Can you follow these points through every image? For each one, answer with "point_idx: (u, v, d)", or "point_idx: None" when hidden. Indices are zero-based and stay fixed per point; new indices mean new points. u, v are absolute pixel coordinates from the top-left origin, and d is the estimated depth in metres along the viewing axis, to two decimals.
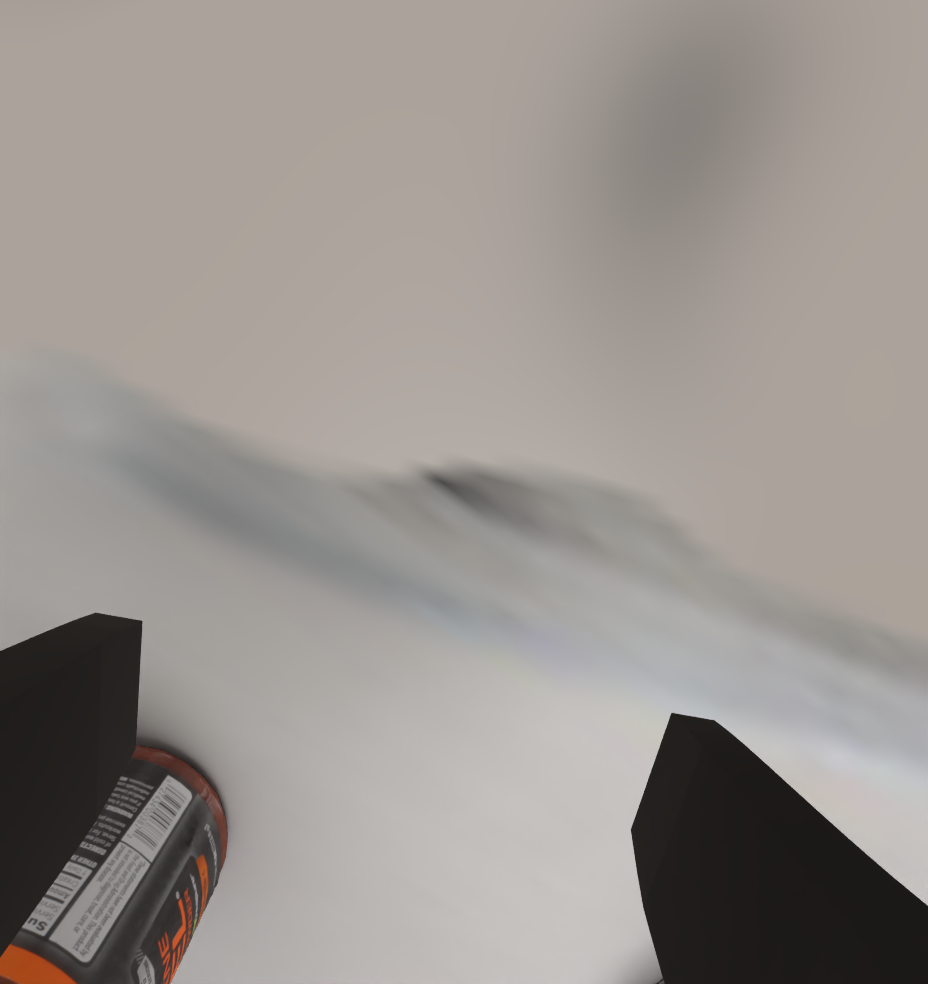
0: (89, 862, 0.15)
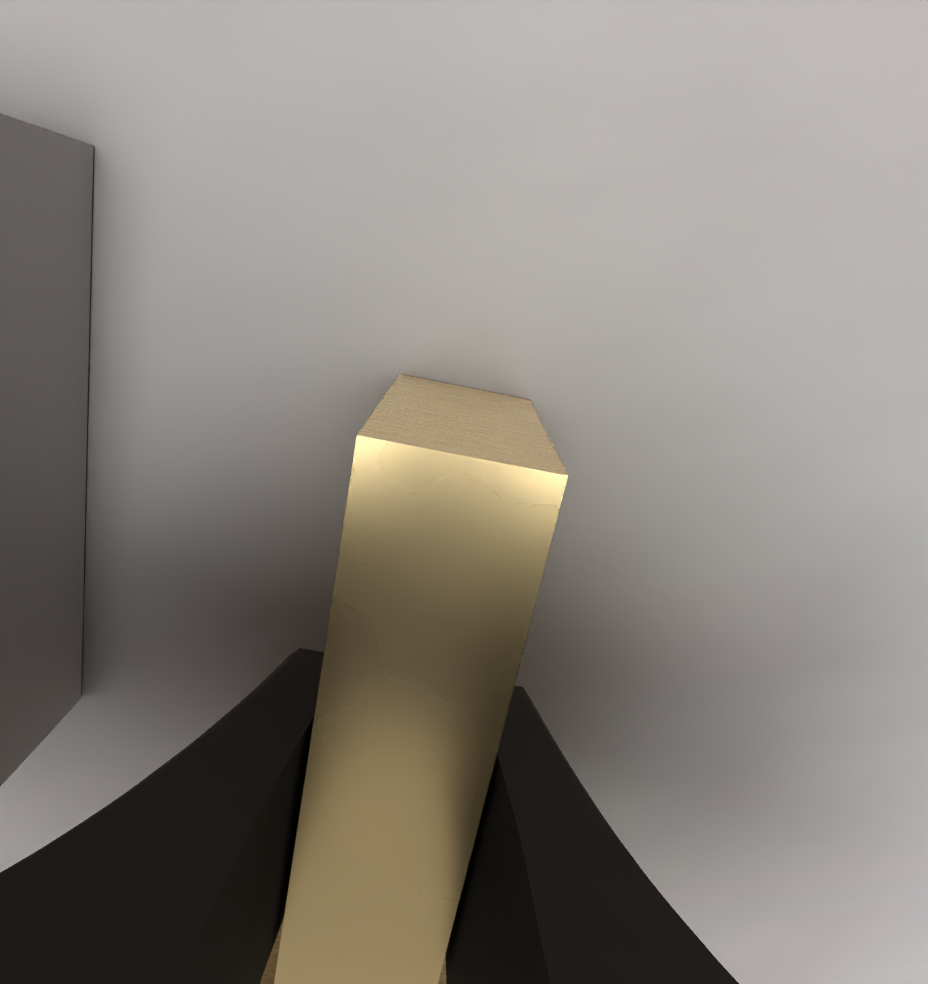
0: None
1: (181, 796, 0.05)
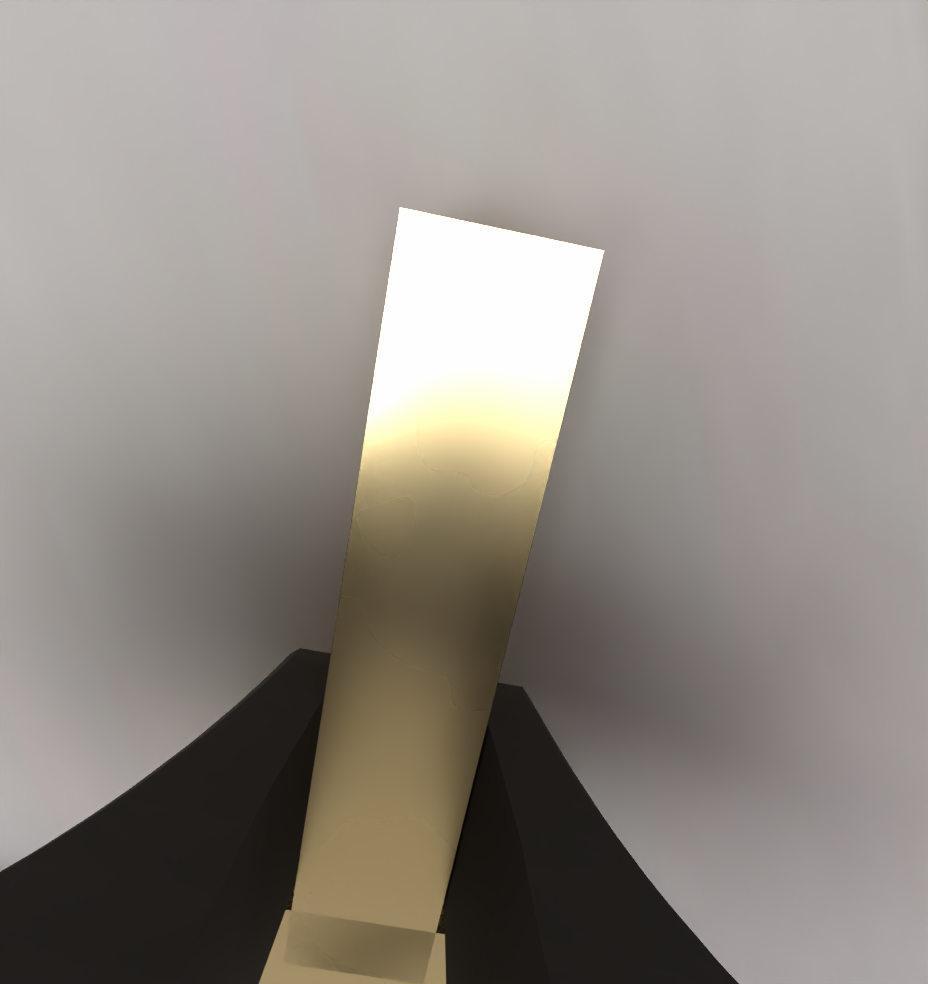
0: None
1: (178, 797, 0.05)
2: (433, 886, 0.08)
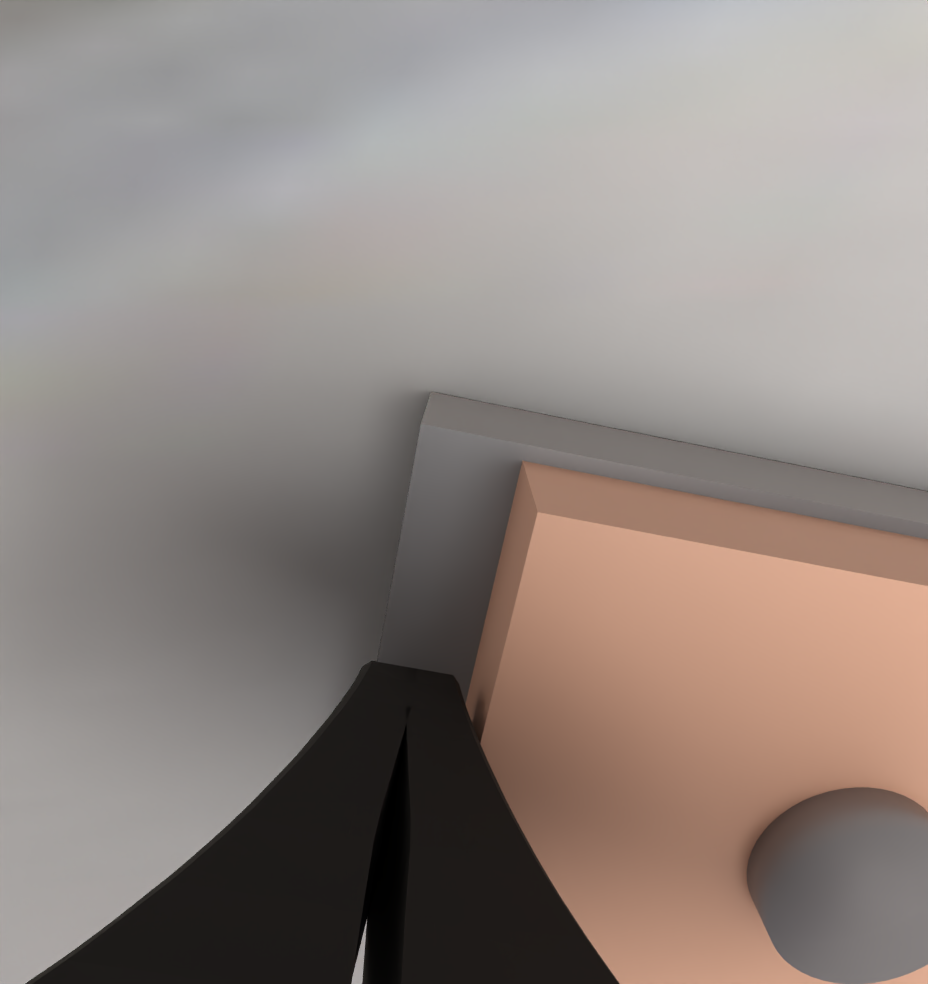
0: None
1: (298, 816, 0.05)
2: None
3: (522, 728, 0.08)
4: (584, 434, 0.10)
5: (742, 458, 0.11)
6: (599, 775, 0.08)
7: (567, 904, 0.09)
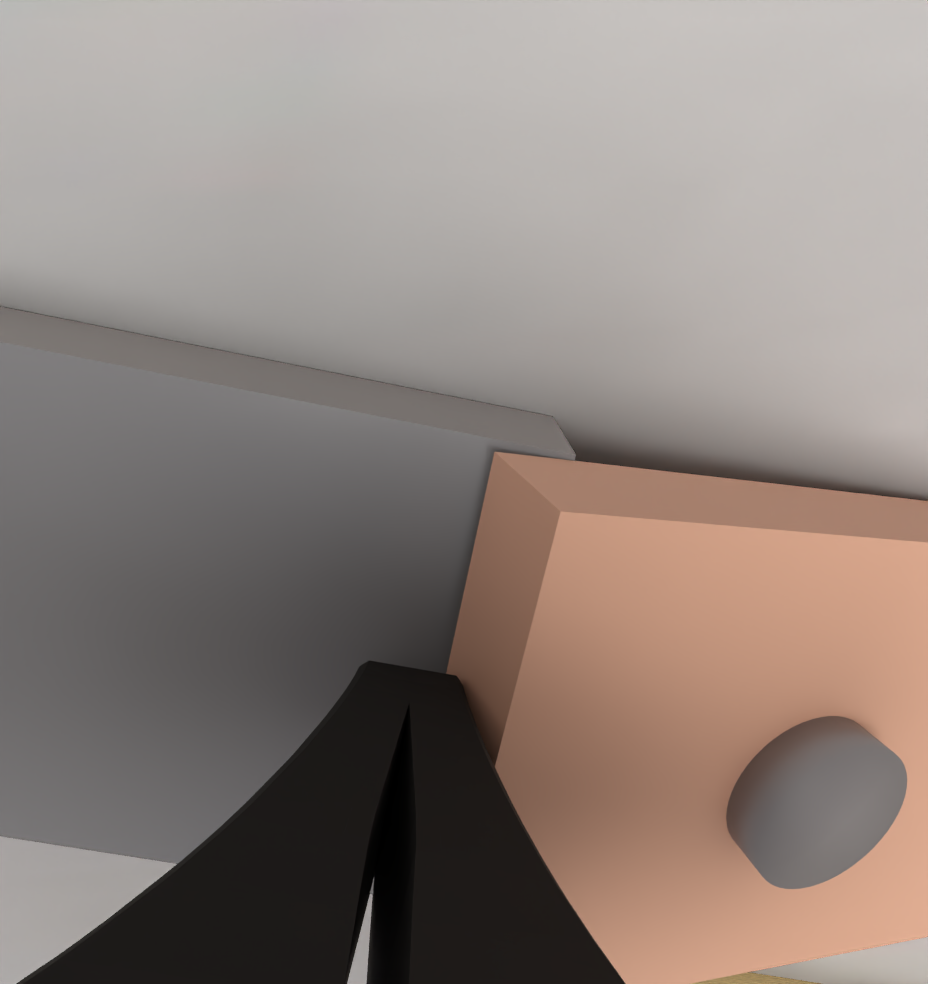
0: None
1: (294, 815, 0.05)
2: None
3: (540, 727, 0.08)
4: (56, 330, 0.10)
5: (259, 362, 0.10)
6: (608, 756, 0.08)
7: (575, 882, 0.09)
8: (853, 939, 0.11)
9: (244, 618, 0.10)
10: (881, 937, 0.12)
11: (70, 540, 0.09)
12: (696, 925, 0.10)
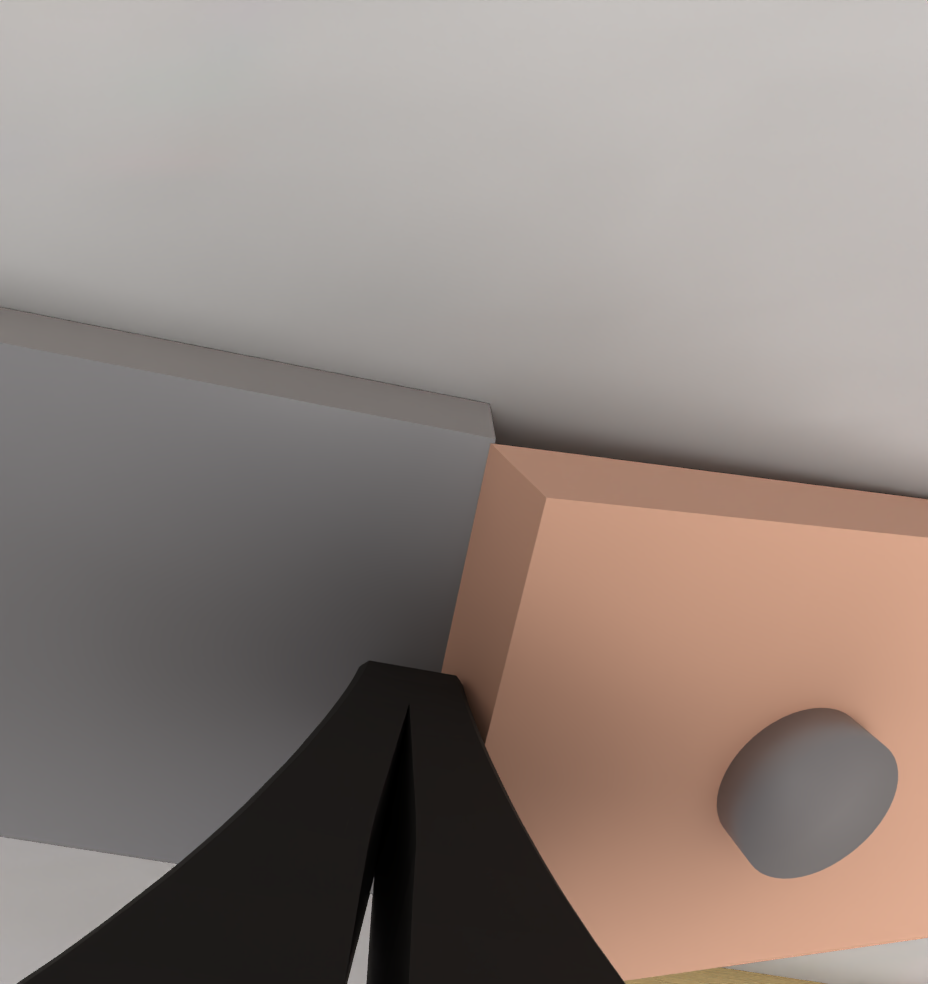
0: None
1: (293, 815, 0.05)
2: None
3: (528, 707, 0.08)
4: None
5: (190, 349, 0.10)
6: (596, 739, 0.08)
7: (566, 863, 0.09)
8: (850, 935, 0.11)
9: (169, 604, 0.09)
10: (880, 935, 0.12)
11: None
12: (688, 914, 0.10)
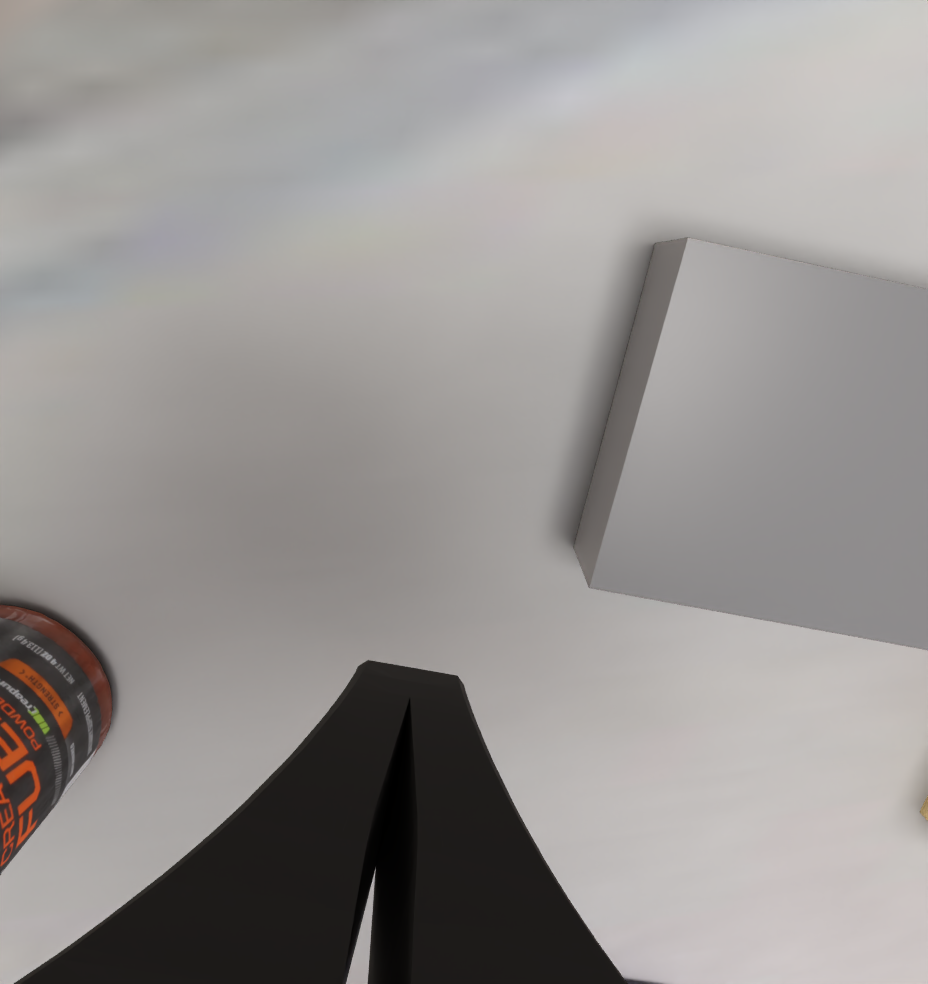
0: None
1: (291, 815, 0.05)
2: None
3: None
4: None
5: None
6: None
7: None
8: None
9: (902, 446, 0.15)
10: None
11: (807, 394, 0.14)
12: None
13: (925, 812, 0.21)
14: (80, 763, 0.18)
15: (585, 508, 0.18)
